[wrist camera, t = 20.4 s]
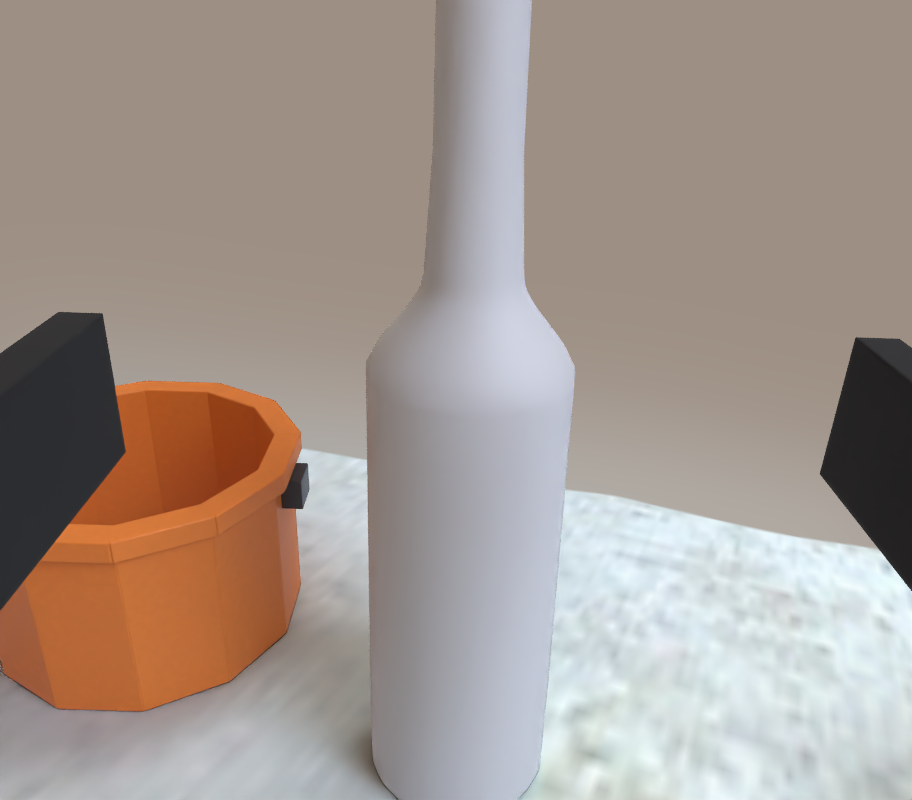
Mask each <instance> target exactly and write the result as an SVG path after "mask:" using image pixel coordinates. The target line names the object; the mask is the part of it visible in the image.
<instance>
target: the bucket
mask: <svg viewBox="0 0 912 800" xmlns="http://www.w3.org/2000/svg"><path fill="white" fill-rule="evenodd" d="M115 390H116V396H117V402H118V408H119V414H120V420H121V426H122V431H123V437H124V443H125V449H126V453H125V454H124V455H123V457H122V458H121V459H120V460H119V462H118V463H117V464H116V465H115V467H114V468H113V469H112V470H111V472H110V473H109V474H108V476H107V477H106V478H105V479H104V481H103V482H102V483H101V484H100V486H99V487H98V488H97V489H96V491H95V492H94V493H93V494H92V496H91V497H90V498H89V500H88V501H87V502H86V503H85V505H84V506H83V507H82V508H81V510H80V511H79V512H78V513H77V515H76V516H75V517H74V518H73V520H72V521H71V522H70V524H69V525H68V526H67V527H66V529H65V530H64V531H63V532H62V534H61V535H60V536H59V537H58V539H57V540H56V541H55V542H54V544H53V545H52V546H51V548H50V549H49V550H48V551H47V553H46V554H45V555H44V556H43V558H42V559H41V560H40V561H39V563H38V564H37V565H36V566H35V568H34V569H33V570H32V572H31V573H30V574H29V575H28V577H27V578H26V579H25V580H24V582H23V583H22V584H21V585H20V587H19V588H18V589H17V590H16V592H15V593H14V594H13V596H12V597H11V598H10V599H9V601H8V602H7V603H6V604H5V606H4V607H3V608H2V609H1V611H0V660H1V664H2V667H3V671H4V673H5V675H7V676H8V677H10V678H11V679H13V680H14V681H16V682H17V683H19V684H20V685H22V686H24V687H25V688H27V689H28V690H30V691H31V692H33V693H34V694H36V695H37V696H39V697H40V698H42V699H43V700H45V701H46V702H48V703H50V704H51V705H53V706H54V707H56V708H57V709H76V710H110V711H146V710H149V709H152V708H155V707H158V706H161V705H164V704H166V703H169V702H172V701H175V700H178V699H181V698H184V697H187V696H189V695H192V694H195V693H198V692H201V691H204V690H207V689H210V688H212V687H215V686H218V685H221V684H224V683H227V682H229V681H230V680H232V679H233V678H234V677H236V676H237V675H238V674H239V673H240V672H241V671H243V670H244V669H245V668H246V667H247V666H248V665H250V664H251V663H252V662H253V661H254V660H255V659H256V658H258V657H259V656H260V655H261V654H262V653H263V652H265V651H266V650H267V649H268V648H269V647H270V646H272V645H273V644H274V643H275V642H276V641H277V640H279V639H280V638H281V637H282V636H283V635H284V634H285V633H286V632H287V629H288V626H289V623H290V619H291V616H292V613H293V609H294V606H295V602H296V599H297V596H298V592H299V589H300V586H301V580H300V566H299V551H298V537H297V523H296V509H303V507H304V504H305V501H306V498H307V495H308V492H309V477H308V464H307V463H296V462H297V459H298V457H299V454H300V452H301V449H302V446H301V432H300V431H299V429H298V428H297V427H296V426H295V424H294V423H293V422H292V421H291V420H290V418H289V417H288V416H287V415H286V413H285V412H284V411H283V410H282V408H281V407H280V406H279V405H278V403H276V401H274V400H271V399H269V398H266V397H262V396H259V395H256V394H253V393H250V392H247V391H243V390H240V389H237V388H234V387H231V386H228V385H224V384H221V383H202V382H201V383H200V382H169V381H142V382H136V383H131V384H125V385H119V386H115Z"/></svg>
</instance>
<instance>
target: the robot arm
mask: <svg viewBox="0 0 912 800" xmlns="http://www.w3.org/2000/svg"><path fill="white" fill-rule="evenodd" d="M125 453H126V449H125V443H124V437H123V431H122V426H121V420H120V414H119V408H118V402H117V396H116V390H115V385H114V378H113V372H112V367H111V361H110V355H109V350H108V344H107V337H106V331H105V326H104V319H103V314H102V313H101V314H100V313H71V312H58V313H56V314H55V315H54V316H52V317H51V318H49V319H48V320H47V321H45V322H44V323H42V324H41V325H40V326H38V327H37V328H35V329H34V330H32V331H31V332H30V333H28V334H27V335H26V336H24V337H23V338H21V339H20V340H18V341H17V342H16V343H14V344H13V345H11V346H10V347H9V348H7V349H6V350H4V351H3V352H2V353H0V611H1V609H2V608H3V607H4V606H5V604H6V603H7V602H8V601H9V599H10V598H11V597H12V596H13V594H14V593H15V592H16V590H17V589H18V588H19V587H20V585H21V584H22V583H23V582H24V580H25V579H26V578H27V577H28V575H29V574H30V573H31V572H32V570H33V569H34V568H35V566H36V565H37V564H38V563H39V561H40V560H41V559H42V558H43V556H44V555H45V554H46V553H47V551H48V550H49V549H50V548H51V546H52V545H53V544H54V542H55V541H56V540H57V539H58V537H59V536H60V535H61V534H62V532H63V531H64V530H65V529H66V527H67V526H68V525H69V524H70V522H71V521H72V520H73V518H74V517H75V516H76V515H77V513H78V512H79V511H80V510H81V508H82V507H83V506H84V505H85V503H86V502H87V501H88V500H89V498H90V497H91V496H92V494H93V493H94V492H95V491H96V489H97V488H98V487H99V486H100V484H101V483H102V482H103V481H104V479H105V478H106V477H107V476H108V474H109V473H110V472H111V470H112V469H113V468H114V467H115V465H116V464H117V463H118V462H119V460H120V459H121V458H122V457H123V455H124V454H125ZM820 475H821V476H822V477H823V479H824V480H825V481H826V482H827V484H828V485H829V486H830V487H831V489H832V490H833V491H834V493H835V494H836V495H837V496H838V498H839V499H840V500H841V502H842V503H843V504H844V505H845V506H846V508H847V509H848V510H849V512H850V513H851V514H852V516H853V517H854V518H855V519H856V520H857V522H858V523H859V524H860V525H861V527H862V528H863V530H864V531H865V532H866V533H867V535H868V536H869V537H870V538H871V540H872V541H873V542H874V543H875V545H876V546H877V547H878V549H879V550H880V551H881V552H882V554H883V555H884V556H885V558H886V559H887V560H888V561H889V563H890V564H891V565H892V566H893V568H894V569H895V570H896V572H897V573H898V574H899V575H900V577H901V578H902V579H903V580H904V582H905V583H906V584H907V586H908V587H909V588H910V589H911V591H912V348H911V347H910V346H908V345H907V344H906V343H904V342H903V341H902V340H900V339H886V338H885V339H884V338H855V342H854V346H853V349H852V353H851V357H850V361H849V365H848V368H847V372H846V376H845V380H844V385H843V387H842V391H841V395H840V399H839V403H838V406H837V411H836V414H835V418H834V422H833V426H832V429H831V434H830V437H829V441H828V445H827V448H826V452H825V456H824V460H823V464H822V468H821V471H820Z"/></svg>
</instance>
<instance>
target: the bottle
mask: <svg viewBox="0 0 912 800" xmlns="http://www.w3.org/2000/svg"><path fill="white" fill-rule="evenodd" d="M531 6H532V0H436V23H435V70H434V72H435V73H434V118H433V153H432V166H431V180H430V194H429V207H428V221H427V234H426V248H425V262H424V274H423V278H422V282H421V285H420V287H419V289H418V291H417V292H416V294H415V295H414V297H413V298H412V300H411V301H410V303H409V304H408V305H407V306H406V307H405V309H404V310H403V311H402V312H401V313H400V314H399V316H398V317H397V318H396V319H395V320H394V321H393V322H392V323H391V325H390V326H389V327H388V328H387V329H386V330H385V332H384V333H383V334H382V335H381V337H380V338H379V339H378V341H377V343H376V344H375V346H374V348H373V350H372V352H371V354H370V355H369V357H368V359H367V361H366V403H367V475H368V546H369V617H370V682H371V718H372V752H373V762H374V765H375V767H376V770H377V772H378V774H379V776H380V778H381V780H382V782H383V783H384V784H385V786H386V787H387V788H388V789H389V790H390V791H391V792H392V793H393V794H394V795H395V796H396V797H397V798H398V799H400V800H516V799H518V798H519V797H520V796H521V795H522V794H523V793H524V792H525V791H526V790H527V789H528V787H529V786H530V785H531V783H532V781H533V779H534V777H535V776H536V774H537V771H538V769H539V765H540V757H541V748H542V737H543V728H544V718H545V708H546V698H547V688H548V678H549V666H550V655H551V643H552V632H553V621H554V609H555V598H556V586H557V575H558V564H559V552H560V541H561V529H562V518H563V507H564V495H565V483H566V472H567V460H568V449H569V437H570V427H571V415H572V404H573V392H574V381H575V367H574V365H573V363H572V360H571V358H570V356H569V354H568V352H567V350H566V347H565V345H564V344H563V343H562V341H561V340H560V338H559V337H558V335H557V334H556V333H555V331H554V330H553V329H552V327H551V326H550V325H549V324H548V322H547V321H546V320H545V318H544V317H543V316H542V314H541V313H540V312H539V310H538V309H537V307H535V304H534V303H533V301H532V299H531V298H530V296H529V294H528V292H527V289H526V286H525V279H524V141H525V121H526V101H527V83H528V63H529V44H530V24H531Z"/></svg>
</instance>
